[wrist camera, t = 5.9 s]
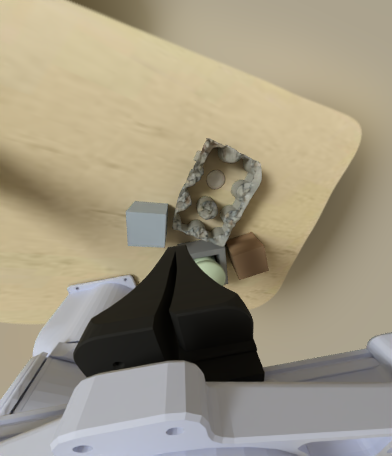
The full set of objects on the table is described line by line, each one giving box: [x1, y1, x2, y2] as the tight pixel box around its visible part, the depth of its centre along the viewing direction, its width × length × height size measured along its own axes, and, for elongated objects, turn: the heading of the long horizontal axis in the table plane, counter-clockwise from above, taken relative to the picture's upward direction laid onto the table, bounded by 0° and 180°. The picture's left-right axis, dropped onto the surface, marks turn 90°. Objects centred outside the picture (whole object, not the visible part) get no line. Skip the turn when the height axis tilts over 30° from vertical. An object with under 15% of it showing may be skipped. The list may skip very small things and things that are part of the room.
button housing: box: [178, 240, 228, 285], centre depth 23 cm, size 6×6×3 cm
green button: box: [193, 255, 226, 286], centre depth 22 cm, size 5×5×4 cm
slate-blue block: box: [126, 201, 168, 248], centre depth 20 cm, size 4×4×4 cm
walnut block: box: [225, 232, 269, 280], centre depth 23 cm, size 4×4×4 cm
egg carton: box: [172, 138, 262, 247], centre depth 19 cm, size 11×8×4 cm
